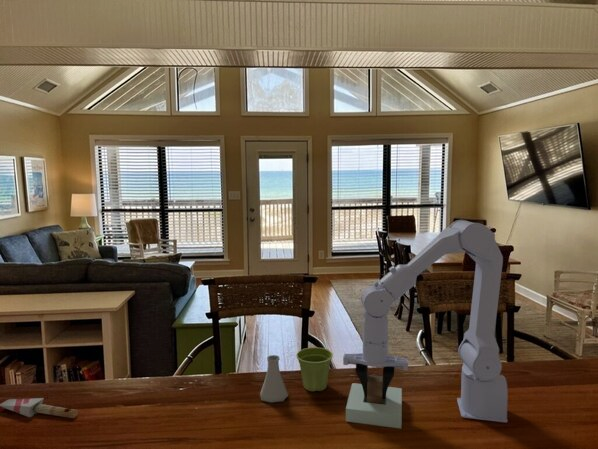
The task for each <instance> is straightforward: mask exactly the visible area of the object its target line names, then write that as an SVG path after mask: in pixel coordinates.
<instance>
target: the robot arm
mask: <svg viewBox="0 0 598 449" xmlns="http://www.w3.org/2000/svg"><path fill="white" fill-rule="evenodd" d="M495 238H496V234H495V233H494V232H493V231H492V230H491V229H490V228H488V227H487V226H486V225H485V224H482V223H480V222H472V221H469V220H466V219H458V220H455V221H453V222H452V223H450V225H449V227H448V226H447V227H446V228H444V229H443V230H441V232H440V233H439V234H438V235H436V237H434V238H433V239H432V241H430V242H429V243H428V244H427V245H426V246H425V247H424V248H422V250H421V251H419V253H417V255H415V256H414V257H413V258H412V259H411V260H410V261H409V262H407V264H397V265H396V266H394V265H392V266H391V267H389V268H388V270H389V272H387V274H385V275H384V276H383V277H382V278H381V279H379V280H377V281H376V280H375V281H374V282H373V283H372V286H371V285H370V286H368V287H366V288H364V291H363V292H362V295H361V296H360V301H361V304H362V305H363V312H362V317H363V318H362V352H361V353H344V354H343V357H342V358H343V360H342V362H343V365H344V366H348V365H355V374H356V376H357V377H358V379H359V381H360V384H362V387H363V391H364V397H367V379H368V375H369V374H368V372H369V370H368V369H369V367H373V368H383V369H382V376H383V392H382V399H385V397H386V392H387V389H388V387H390V384H391V381H392V379H393V378H394V375H395V370H396V369H398V370H402V371H405V372H408V371H409V360H408V359H407V358H402V357H401V358H400V357H398V356H392V355H389V321H388V313H390V311H391V309H392V304H393V303H395V302H396V301H397V300H398V299H400V298H401V297H402V296H403V295H404V294H405V293H407V292H408V291H409V290H411V289H412V288H413V287H414V286H415V285H416V284H417V278H418V276H419V275H420V274H421V273H422V272H424V271H425V270H426V269H428V268H429V267H431V266H432V265H433V264H434V263H436V262H438V261H439V260H440V259H441V258H443V257H444V256H446V255H448V254H449V255H452V254H453V255H454V254H463V251H464V252H465V253H466V254H467V255H468V256H469V257H470V258H471V259H472V260H473V261H474V262H475V270H474V277H473V278H474V280H473V286H472V287H473V288H472V298H471V306H470V316H469V326H468V329H467V330H466V331H465V332H464V333H463V340H462V341H461V343H460V345H459V346H458V348H457V349H458V351H457V353H458V357H459V358H460V360H461V361H462V367H461V376H460V378H461V382H460V385H461V386H460V389H461V390H460V397H457V398H456V401H457V405H458V409H459V410H458V411H459V412H460V416H461V418H465V419H471V420H472V419H473V420H481V421H488V422H489V421H490V422H497V423H505V424H506V423H508V394H509V393H508V382H507V379H506V377H505V376H504V375H503V374H501V372H502V368H503V366H502V365H503V364H502V361H501V359H500V347H499V345H498V342H497V339H496V337H495V333H496V325H497V314H498V306H499V299H500V297H499V296H500V290H501V279H502V271H503V264H504V256H503V254H502V251H501V250H500V247H499V246H498V244H497V241H496V239H495Z"/></svg>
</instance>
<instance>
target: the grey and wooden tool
mask: <svg viewBox="0 0 598 449" xmlns="http://www.w3.org/2000/svg"><path fill="white" fill-rule="evenodd" d="M44 399H45V398H44V397H39V398H37V397H35V398H13V399H12V398H10V399H7V400H5V401H3V402H2V403H0V407H2V408H3V409H7V410H9V411H11V412H14V413H17V414H20V415H22V416H25V417H28V418H32V417H34V416H35V415H36V414H45V415H50V416H56V417H57V416H58V417H64V418H69V419H75V418H76V417H78V414H79V411H78V409H74V408H67V407H61V406H54V405H49V404H43V402H44ZM34 414H35V415H34Z"/></svg>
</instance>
